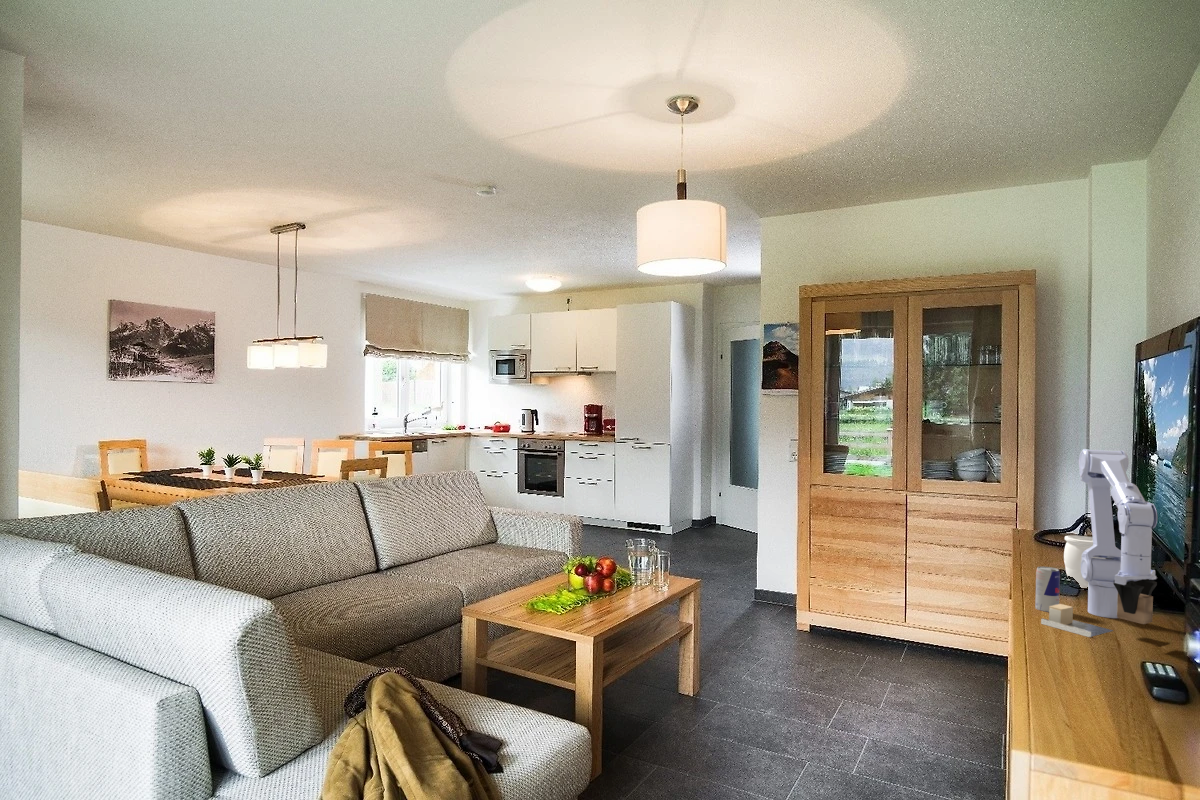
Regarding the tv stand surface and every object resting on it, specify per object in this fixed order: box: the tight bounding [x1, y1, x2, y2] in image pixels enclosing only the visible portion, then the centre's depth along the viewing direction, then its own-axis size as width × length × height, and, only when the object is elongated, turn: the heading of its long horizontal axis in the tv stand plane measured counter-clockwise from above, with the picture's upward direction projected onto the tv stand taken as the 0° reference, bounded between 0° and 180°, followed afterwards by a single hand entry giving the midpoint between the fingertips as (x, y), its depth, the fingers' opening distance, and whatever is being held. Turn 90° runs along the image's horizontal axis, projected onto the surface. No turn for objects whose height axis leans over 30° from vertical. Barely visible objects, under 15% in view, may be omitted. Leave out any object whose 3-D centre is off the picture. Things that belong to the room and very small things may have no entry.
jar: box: [1063, 535, 1107, 588], centre depth 219 cm, size 11×10×15 cm
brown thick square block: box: [1116, 593, 1154, 625], centre depth 169 cm, size 4×6×6 cm
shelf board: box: [1040, 618, 1114, 638], centre depth 175 cm, size 11×11×2 cm
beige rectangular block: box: [1048, 603, 1074, 625], centre depth 179 cm, size 5×3×4 cm, turn 119°
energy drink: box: [1034, 566, 1061, 613], centre depth 190 cm, size 5×5×12 cm
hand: (1134, 611), depth 169 cm, fingers closed on brown thick square block, 4 cm apart
